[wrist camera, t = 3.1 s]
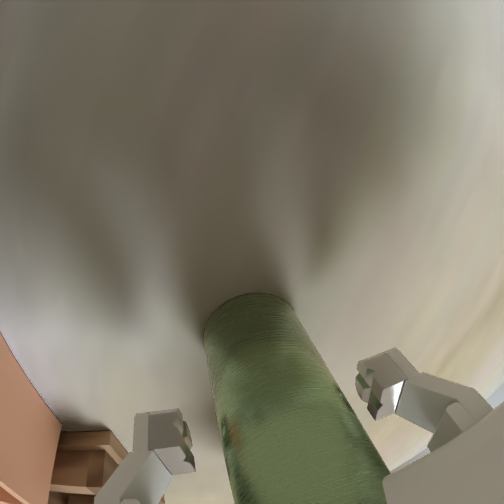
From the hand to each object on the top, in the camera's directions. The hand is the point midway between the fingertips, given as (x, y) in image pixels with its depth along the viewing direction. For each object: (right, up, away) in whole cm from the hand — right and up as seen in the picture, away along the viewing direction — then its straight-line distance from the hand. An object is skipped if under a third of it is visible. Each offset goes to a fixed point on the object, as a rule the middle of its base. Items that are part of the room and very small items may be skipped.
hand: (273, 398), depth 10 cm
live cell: (-1, +1, +3) cm, 4 cm away
